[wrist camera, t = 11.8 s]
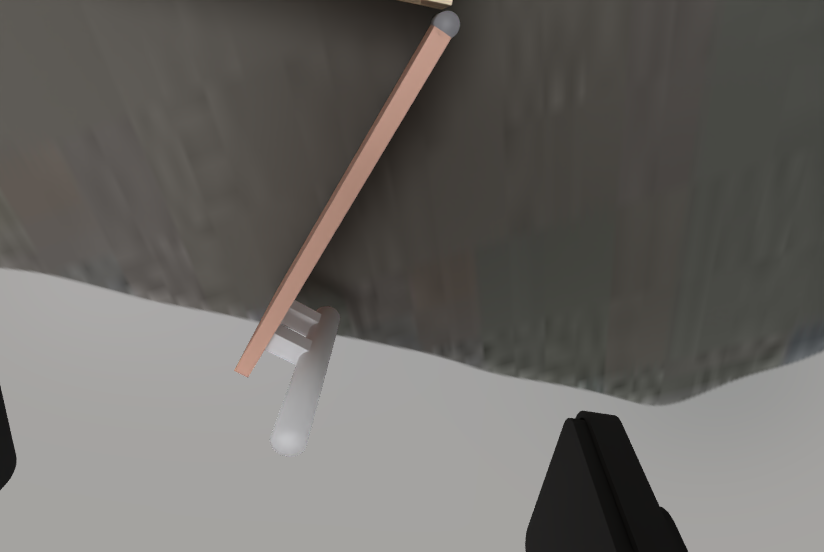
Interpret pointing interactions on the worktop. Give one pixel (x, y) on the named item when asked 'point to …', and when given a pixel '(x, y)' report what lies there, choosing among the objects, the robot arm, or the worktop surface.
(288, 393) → the door
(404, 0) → the cabinet
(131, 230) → the worktop surface
